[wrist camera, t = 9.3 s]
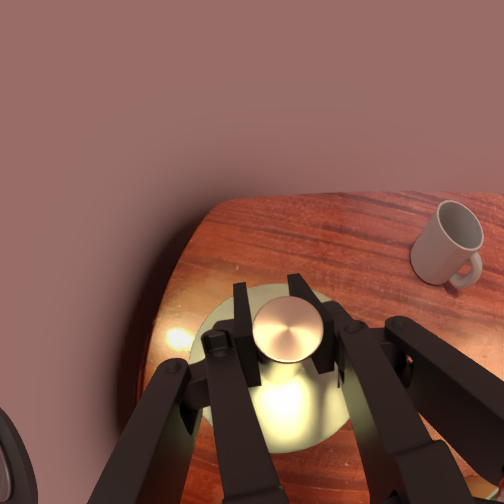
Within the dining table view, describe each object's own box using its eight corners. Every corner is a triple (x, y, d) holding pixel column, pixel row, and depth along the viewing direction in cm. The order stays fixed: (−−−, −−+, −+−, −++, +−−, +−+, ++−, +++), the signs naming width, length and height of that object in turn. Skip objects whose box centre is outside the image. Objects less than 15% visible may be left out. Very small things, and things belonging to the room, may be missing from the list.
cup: (429, 233, 35) (455, 193, 28) (468, 286, 30) (504, 253, 23) (399, 253, 34) (425, 211, 26) (441, 312, 29) (480, 281, 21)
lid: (161, 391, 18) (77, 367, 9) (249, 264, 23) (237, 168, 14) (309, 477, 14) (347, 533, 5) (386, 332, 19) (459, 267, 10)
